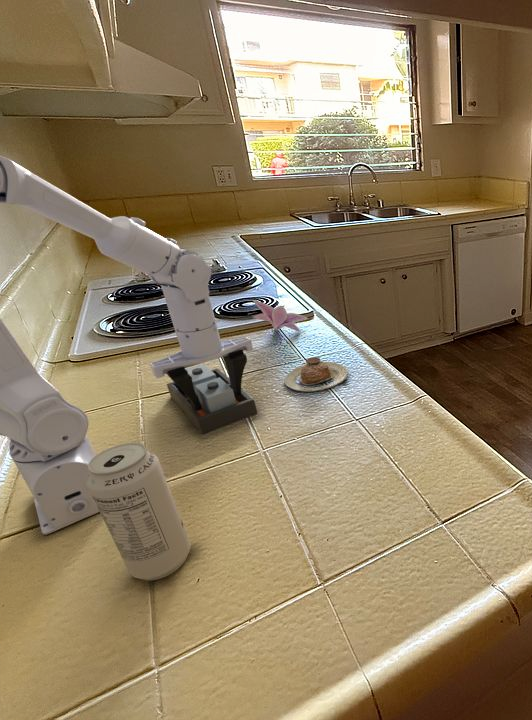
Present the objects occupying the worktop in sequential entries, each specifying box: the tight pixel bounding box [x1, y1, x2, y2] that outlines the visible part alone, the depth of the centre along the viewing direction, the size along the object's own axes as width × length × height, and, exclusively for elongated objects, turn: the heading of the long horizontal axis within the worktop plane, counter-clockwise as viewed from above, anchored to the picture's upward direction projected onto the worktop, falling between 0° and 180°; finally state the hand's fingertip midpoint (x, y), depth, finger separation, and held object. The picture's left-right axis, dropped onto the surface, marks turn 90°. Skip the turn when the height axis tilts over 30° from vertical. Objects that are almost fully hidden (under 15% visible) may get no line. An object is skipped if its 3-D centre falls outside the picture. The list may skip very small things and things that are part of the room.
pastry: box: [283, 356, 349, 393], centre depth 91 cm, size 12×12×5 cm
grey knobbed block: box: [195, 378, 236, 415], centre depth 79 cm, size 6×4×6 cm, turn 46°
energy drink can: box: [86, 442, 191, 582], centre depth 50 cm, size 6×6×15 cm
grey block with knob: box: [185, 363, 217, 395], centre depth 84 cm, size 6×4×6 cm, turn 46°
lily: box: [252, 300, 309, 343], centre depth 109 cm, size 12×12×10 cm
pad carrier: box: [166, 367, 258, 436], centre depth 82 cm, size 17×9×3 cm, turn 46°
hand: (217, 399), depth 79 cm, fingers open, 6 cm apart
